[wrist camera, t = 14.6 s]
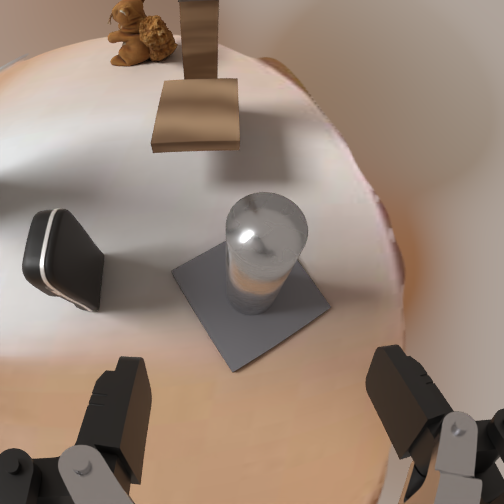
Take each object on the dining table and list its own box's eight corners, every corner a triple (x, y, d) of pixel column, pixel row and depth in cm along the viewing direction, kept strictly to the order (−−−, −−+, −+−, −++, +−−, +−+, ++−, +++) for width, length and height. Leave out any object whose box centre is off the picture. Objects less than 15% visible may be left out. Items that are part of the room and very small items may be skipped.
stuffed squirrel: (137, 40, 51) (129, -12, 39) (192, 50, 49) (190, -9, 37) (104, 64, 47) (90, 9, 35) (159, 76, 46) (151, 11, 34)
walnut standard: (236, 185, 38) (252, -9, 15) (162, 187, 37) (121, 0, 15) (234, 103, 43) (244, -47, 21) (174, 104, 43) (160, -43, 21)
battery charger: (77, 253, 33) (29, 202, 22) (106, 252, 33) (64, 199, 22) (70, 312, 30) (11, 279, 19) (100, 314, 30) (47, 279, 20)
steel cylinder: (243, 324, 31) (255, 281, 18) (216, 283, 32) (210, 214, 19) (284, 298, 32) (323, 239, 19) (258, 259, 33) (277, 180, 20)
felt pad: (232, 372, 29) (232, 372, 29) (172, 273, 33) (171, 271, 32) (329, 308, 32) (331, 307, 32) (266, 220, 36) (267, 218, 35)
